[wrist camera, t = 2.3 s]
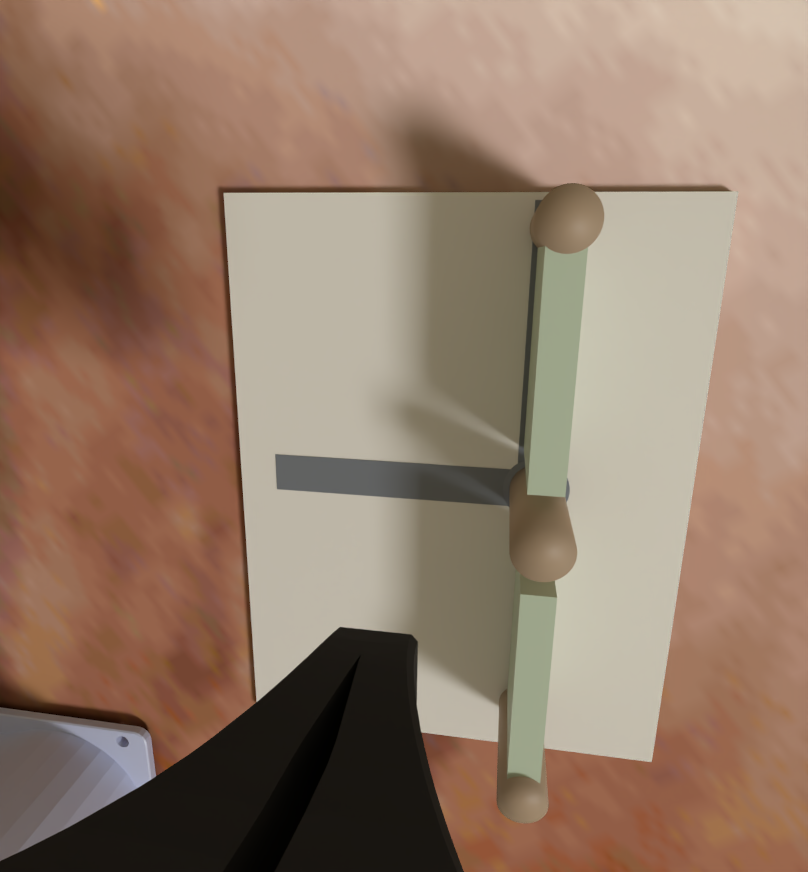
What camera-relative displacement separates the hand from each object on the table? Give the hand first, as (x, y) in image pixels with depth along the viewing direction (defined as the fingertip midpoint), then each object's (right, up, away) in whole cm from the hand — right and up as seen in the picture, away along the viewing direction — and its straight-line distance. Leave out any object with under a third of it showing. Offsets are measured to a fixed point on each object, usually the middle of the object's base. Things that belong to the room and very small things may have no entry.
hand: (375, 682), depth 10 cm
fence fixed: (+5, +6, +8) cm, 11 cm away
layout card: (+2, +2, +9) cm, 10 cm away
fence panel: (+4, -2, +10) cm, 11 cm away
